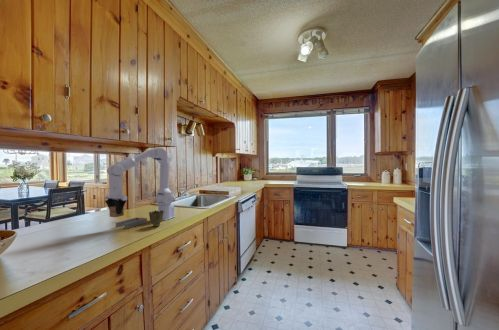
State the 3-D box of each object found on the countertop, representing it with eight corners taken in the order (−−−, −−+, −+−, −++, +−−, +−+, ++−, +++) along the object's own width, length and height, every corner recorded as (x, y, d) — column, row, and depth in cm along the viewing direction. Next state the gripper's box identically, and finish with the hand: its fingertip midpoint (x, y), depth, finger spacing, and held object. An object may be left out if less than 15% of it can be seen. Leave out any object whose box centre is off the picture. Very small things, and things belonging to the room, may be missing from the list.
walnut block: (117, 214, 117) (117, 205, 117) (123, 215, 116) (123, 205, 116) (109, 216, 113) (109, 206, 113) (115, 217, 111) (115, 207, 111)
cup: (166, 224, 123) (166, 210, 123) (159, 228, 116) (159, 213, 116) (153, 224, 124) (153, 209, 124) (146, 227, 116) (146, 212, 116)
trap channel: (137, 221, 131) (137, 216, 131) (147, 222, 128) (147, 218, 128) (115, 227, 118) (115, 222, 118) (125, 228, 115) (125, 224, 115)
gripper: (98, 187, 113) (99, 213, 113) (117, 188, 107) (118, 216, 108) (111, 186, 120) (112, 211, 120) (130, 187, 114) (131, 213, 114)
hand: (116, 213), depth 114 cm, fingers closed on walnut block, 4 cm apart
